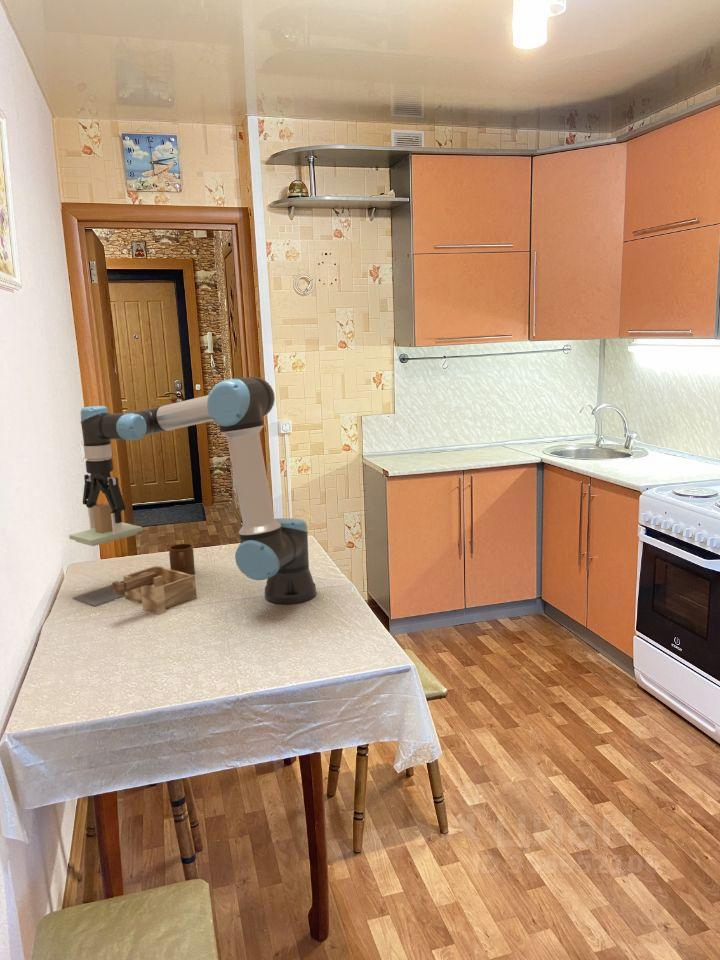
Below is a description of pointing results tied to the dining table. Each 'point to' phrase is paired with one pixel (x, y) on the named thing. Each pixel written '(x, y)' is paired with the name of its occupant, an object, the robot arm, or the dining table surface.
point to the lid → (104, 528)
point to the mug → (182, 558)
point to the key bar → (133, 583)
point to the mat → (98, 596)
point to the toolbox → (163, 589)
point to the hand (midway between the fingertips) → (106, 530)
